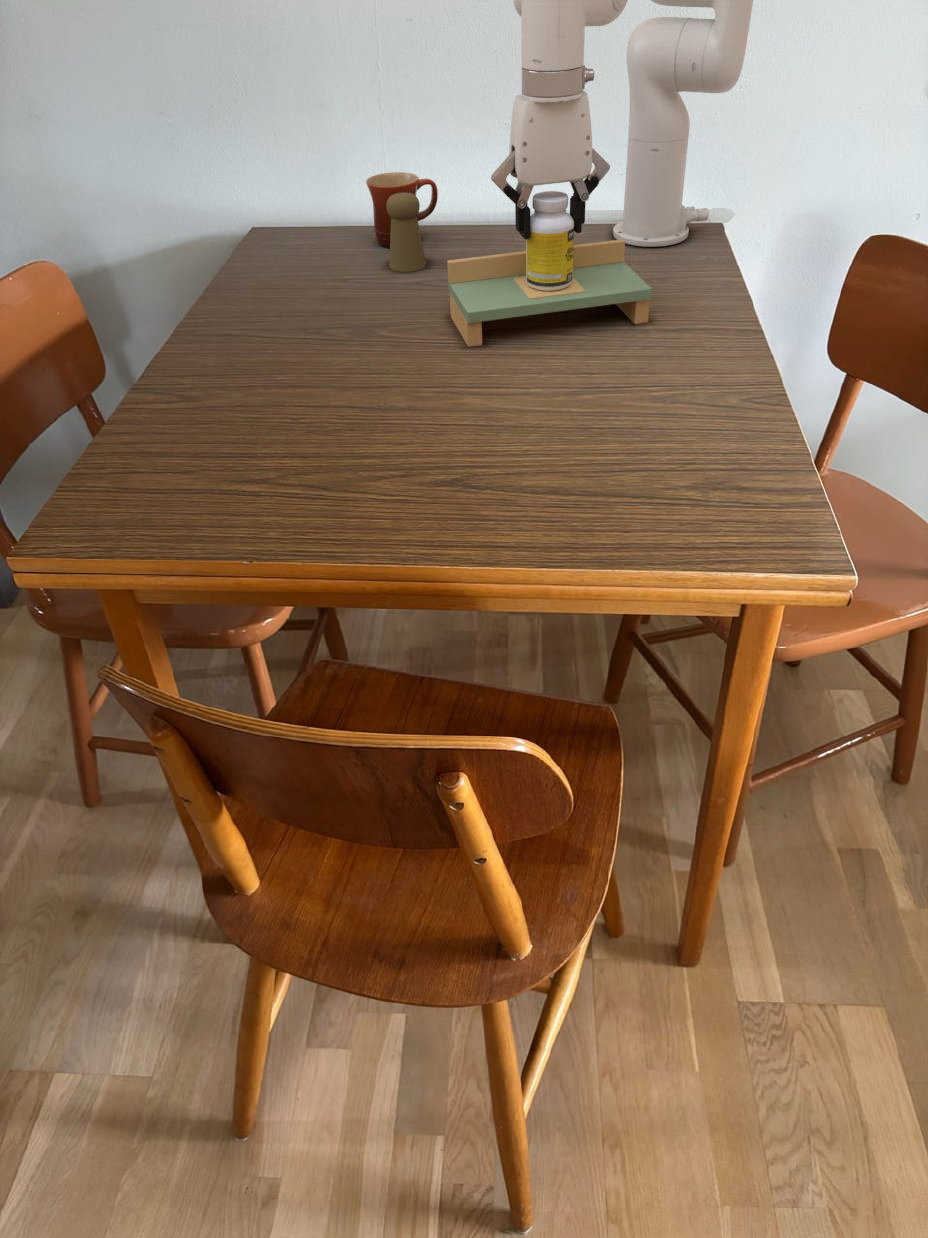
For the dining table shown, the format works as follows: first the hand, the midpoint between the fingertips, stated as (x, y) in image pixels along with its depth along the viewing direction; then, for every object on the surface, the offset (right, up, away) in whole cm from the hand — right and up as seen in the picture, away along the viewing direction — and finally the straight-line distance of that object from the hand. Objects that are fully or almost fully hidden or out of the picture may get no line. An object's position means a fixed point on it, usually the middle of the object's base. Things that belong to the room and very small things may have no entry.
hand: (550, 231), depth 128 cm
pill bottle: (0, -6, +5) cm, 7 cm away
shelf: (0, -9, +8) cm, 12 cm away
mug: (-21, +13, +37) cm, 45 cm away
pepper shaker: (-21, +6, +28) cm, 35 cm away
